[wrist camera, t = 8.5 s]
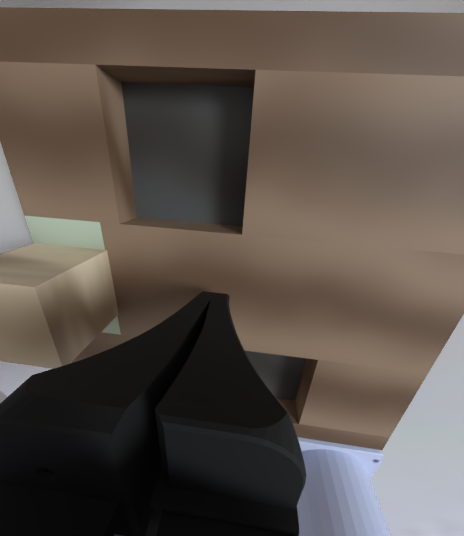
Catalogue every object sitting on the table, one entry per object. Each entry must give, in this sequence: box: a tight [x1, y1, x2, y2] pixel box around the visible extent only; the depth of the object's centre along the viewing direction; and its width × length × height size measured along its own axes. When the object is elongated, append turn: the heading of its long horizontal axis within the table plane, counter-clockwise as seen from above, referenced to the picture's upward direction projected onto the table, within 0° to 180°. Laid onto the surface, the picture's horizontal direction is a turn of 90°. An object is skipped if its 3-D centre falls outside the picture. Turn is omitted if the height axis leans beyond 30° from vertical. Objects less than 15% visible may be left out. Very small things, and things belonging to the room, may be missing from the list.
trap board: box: [0, 8, 464, 450], centre depth 12 cm, size 22×22×2 cm
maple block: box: [0, 243, 119, 369], centre depth 10 cm, size 4×4×4 cm
